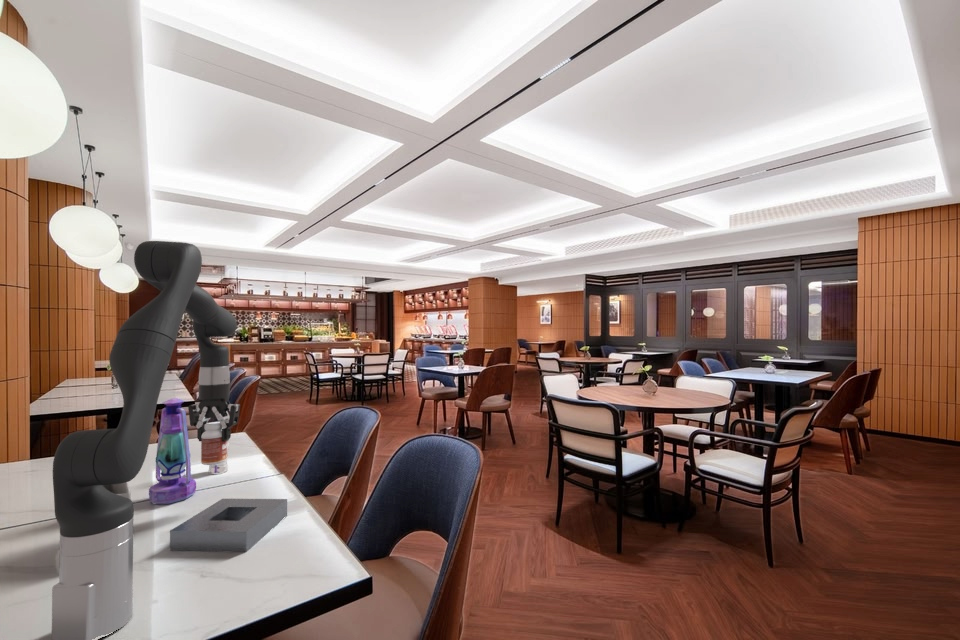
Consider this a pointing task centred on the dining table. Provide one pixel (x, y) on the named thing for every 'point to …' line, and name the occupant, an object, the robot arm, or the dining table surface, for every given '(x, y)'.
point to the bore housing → (228, 525)
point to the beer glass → (219, 465)
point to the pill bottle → (213, 445)
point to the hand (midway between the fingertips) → (214, 440)
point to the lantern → (172, 457)
